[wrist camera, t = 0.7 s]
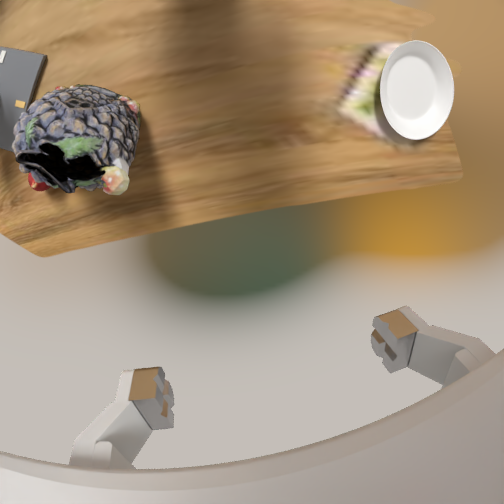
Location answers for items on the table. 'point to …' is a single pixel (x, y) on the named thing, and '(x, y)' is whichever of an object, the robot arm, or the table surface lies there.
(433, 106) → the white plate
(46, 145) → the pineapple fairy house
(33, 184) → the onion
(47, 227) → the table surface
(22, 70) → the lock base
